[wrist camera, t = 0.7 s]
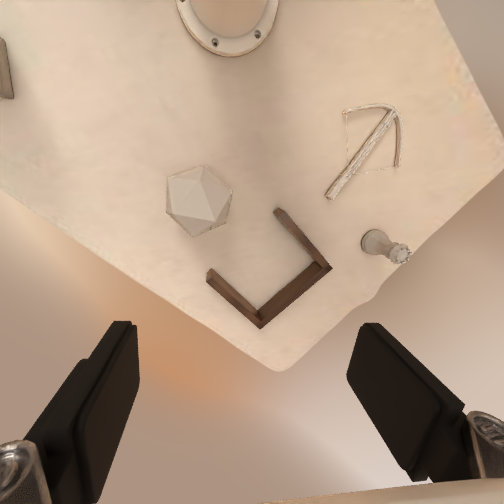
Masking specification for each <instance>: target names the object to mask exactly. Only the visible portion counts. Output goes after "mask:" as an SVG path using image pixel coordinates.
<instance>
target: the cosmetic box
mask: <svg viewBox="0 0 504 504" xmlns="http://www.w3.org/2000/svg"><path fill="white" fill-rule="evenodd" d="M0 98H7V99H12V98H13V92H12V85H11V79H10V72H9V66H8V58H7V52H6V46H5V41H4V40H3V39H2V38H0Z"/></svg>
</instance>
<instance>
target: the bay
mask: <svg viewBox="0 0 504 504" xmlns="http://www.w3.org/2000/svg"><path fill="white" fill-rule="evenodd" d="M273 213H274V214H275V215H276V216H277V217H278V218H279V220H280V221H281V222H282V223H283V224H284V225H285V227H286V228H287V229H288V230H289V231H290V232H291V234H292V235H293V236H294V237H295V238H296V239H297V240H298V242H299V243H300V244H301V245H302V246H303V247H304V249H305V250H306V251H307V252H308V253H309V254H310V256H311V257H312V258H313V259H314V260H315V262H314V263H313V264H311V265H310V266H309V267H308V268H307V269H306V270H304V271H303V272H302V273H301V274H300V275H299V276H297V277H296V278H295V279H294V280H293V281H292V282H290V283H289V284H288V285H287V286H286V287H285V288H283V289H282V290H281V291H280V292H279V293H278V294H276V295H275V296H274V297H273V298H272V299H271V300H269V301H268V302H267V303H266V304H265V305H264V306H262V307H261V308H260V309H259V310H257V309H255V308H254V307H253V306H252V305H251V304H250V303H249V302H248V301H247V300H246V299H244V298H243V297H242V296H241V295H240V294H239V293H238V292H237V291H236V290H235V289H234V288H232V287H231V286H230V285H229V284H228V283H227V282H226V281H225V280H224V279H223V278H222V277H220V276H219V275H218V274H217V273H216V272H215V271H214V270H213V269H211V270H210V271H209V272H207V277H206V282H207V283H208V284H209V285H210V286H211V287H212V288H213V289H215V290H216V291H217V292H218V293H219V294H220V295H221V296H223V297H224V298H225V299H226V300H227V301H228V302H229V303H231V304H232V305H233V306H234V307H235V308H236V309H237V310H239V311H240V312H241V313H242V314H243V315H244V316H245V317H246V318H248V319H249V320H250V321H251V322H252V323H253V324H254V325H256V326H257V327H258V328H259V329H261V328H263V327H264V326H265V325H266V324H267V323H269V322H270V321H271V320H272V319H273V318H275V317H276V316H277V315H278V314H279V313H280V312H282V311H283V310H284V309H285V308H286V307H288V306H289V305H290V304H291V303H292V302H294V301H295V300H296V299H297V298H298V297H299V296H301V295H302V294H303V293H304V292H305V291H307V290H308V289H309V288H310V287H311V286H313V285H314V284H315V283H316V282H317V281H319V280H320V279H321V278H322V277H323V276H324V275H326V274H327V273H328V272H329V271H330V270H332V269H333V268H332V267H331V266H330V265H329V263H328V262H327V261H326V260H325V259H324V257H323V256H322V255H321V254H320V253H319V251H318V250H317V249H316V248H315V247H314V246H313V244H312V243H311V242H310V241H309V240H308V238H307V237H306V236H305V235H304V234H303V232H302V231H301V230H300V229H299V228H298V226H297V225H296V224H295V223H294V222H293V221H292V219H291V218H290V217H289V216H288V215H287V213H286V212H285V211H284V210H282V209H280V208H278V209H277V210H276V211H274V212H273Z"/></svg>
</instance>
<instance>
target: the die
mask: <svg viewBox="0 0 504 504" xmlns="http://www.w3.org/2000/svg"><path fill="white" fill-rule="evenodd" d="M231 195H232V190H231V189H230V188H229V187H228V186H227V185H226V184H225V183H224V182H222V181H221V180H220V179H219V178H218V177H217V176H216V175H215V174H214V173H213V172H211V171H210V170H209V169H208V168H207V167H206V166H205V165H203V166H199V167H196V168H193V169H190V170H187V171H184V172H181V173H178V174H175V175H172V176H169V177H167V201H166V213H167V214H169V215H170V216H171V217H172V218H173V219H174V220H175V221H176V222H177V223H178V224H179V225H180V226H181V227H183V228H184V229H185V230H186V231H187V232H188V233H189V234H190V235H191V236H192V237H195V236H197V235H199V234H202V233H204V232H206V231H208V230H211V229H213V228H215V227H218V226H220V225H222V224H224V223H226V219H227V214H228V209H229V205H230V200H231Z"/></svg>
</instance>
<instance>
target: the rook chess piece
mask: <svg viewBox="0 0 504 504" xmlns="http://www.w3.org/2000/svg"><path fill="white" fill-rule="evenodd" d="M362 248H363V250H364V251H365V252H367V253H369V254H372V255H380V254H382V255H385V256H386V257H387V258H388V259H390V260H391V262H393V263H395V264H399V263H402V264H404V263H405V261H409V260H410V258H408V257H409V256H412V253H411V252H410V251H411V250H410V249H409V247H408V246H407V245H406V244H398V243H395V242H394V243H393V242H391V241H390V240H389V238H388V236H387V235H386V234H385V233H383V232H381V231H379V230H373V231H370V232H369V233H367V234H366V235H365V237H364V238H363V241H362Z"/></svg>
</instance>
